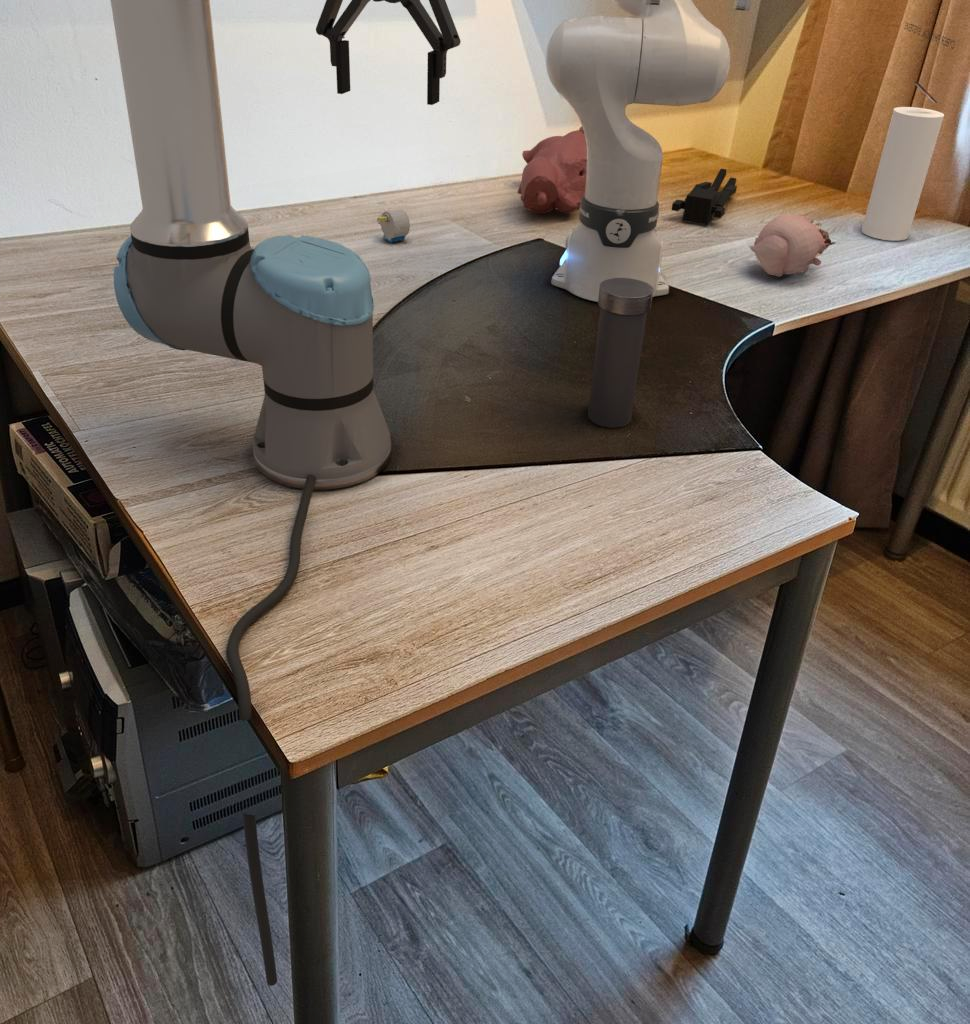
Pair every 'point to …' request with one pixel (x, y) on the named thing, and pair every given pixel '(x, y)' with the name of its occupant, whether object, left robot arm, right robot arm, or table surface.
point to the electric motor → (394, 225)
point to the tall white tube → (902, 168)
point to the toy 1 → (706, 200)
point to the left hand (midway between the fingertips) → (388, 97)
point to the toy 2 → (790, 244)
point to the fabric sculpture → (555, 173)
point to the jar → (616, 368)
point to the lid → (625, 296)
